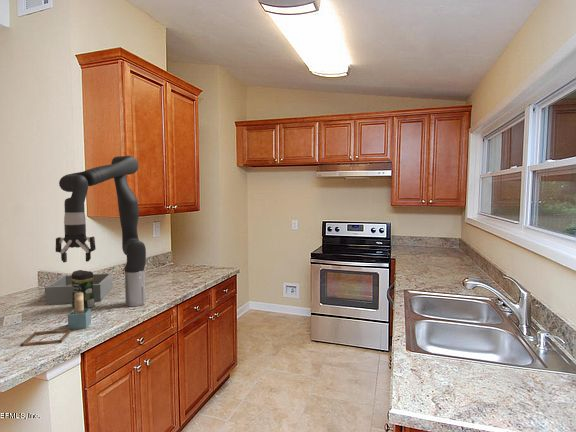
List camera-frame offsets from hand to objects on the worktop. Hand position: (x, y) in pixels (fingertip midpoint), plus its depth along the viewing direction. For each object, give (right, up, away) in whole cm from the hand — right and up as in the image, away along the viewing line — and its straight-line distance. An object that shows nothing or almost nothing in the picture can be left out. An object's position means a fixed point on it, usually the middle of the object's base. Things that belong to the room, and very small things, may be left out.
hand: (76, 261), depth 143 cm
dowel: (+1, -27, +1) cm, 27 cm away
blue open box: (+1, -28, +2) cm, 28 cm away
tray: (-4, -29, -11) cm, 31 cm away
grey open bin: (-25, -25, +45) cm, 58 cm away
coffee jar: (-13, -27, +27) cm, 40 cm away
